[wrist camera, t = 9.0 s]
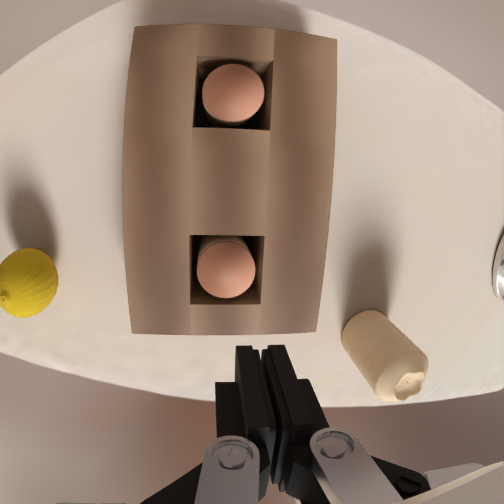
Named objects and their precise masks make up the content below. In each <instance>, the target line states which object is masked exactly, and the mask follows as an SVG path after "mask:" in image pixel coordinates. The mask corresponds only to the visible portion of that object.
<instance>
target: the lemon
mask: <svg viewBox="0 0 504 504" xmlns="http://www.w3.org/2000/svg"><path fill="white" fill-rule="evenodd" d="M57 287H58V274H57V269H56V267H55V264H54V263H53V261H52V260H51V258H50V257H49V256H48V255H47V254H46V253H44V252H42V251H41V250H38V249H35V248H23V249H20V250H17V251H15V252H13V253H12V254H10V255H9V256H8V257H7V258H6V259H5V260H4V261H3V262H2V263H1V265H0V306H1V307H2V308H3V309H4V310H5V311H6V312H7V313H9V314H11V315H13V316H15V317H20V318H23V317H30V316H33V315H35V314H37V313H39V312H41V311H42V310H44V309H45V308H46V307H47V306H48V305H49V304H50V302H51V301H52V299H53V297H54V296H55V294H56V291H57Z"/></svg>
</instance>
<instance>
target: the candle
mask: <svg viewBox="0 0 504 504" xmlns="http://www.w3.org/2000/svg"><path fill="white" fill-rule="evenodd" d="M342 344H343V347H344V349H345V351H346V352H347V354H348V355H349V356H350V358H351V359H352V361H353V362H354V364H355V365H356V366H357V368H358V369H359V371H360V372H361V374H362V375H363V376H364V378H365V379H366V381H367V382H368V384H369V385H370V387H371V388H372V389H373V391H374V392H375V394H376V395H377V397H378V398H379V399H380V400H382V401H386V402H392V401H400V400H406V399H407V398H408V397H409V396H412V395H416V394H418V393H419V392H420V390H421V386H422V383H423V381H424V379H425V377H426V374H427V370H428V358H427V356H426V355H425V354H424V353H423V352H422V351H421V350H420V349H419V348H418V347H417V346H416V345H415V344H414V343H413V342H412V341H411V340H410V339H409V338H408V337H407V336H405V335H404V334H403V333H402V332H401V331H400V330H399V329H398V328H397V327H396V326H395V325H394V324H393V323H392V322H391V321H390V320H389V319H387V318H386V317H385V316H384V315H383V314H382V313H380V312H378V311H375V310H366V311H362V312H360V313H358V314H356V315H355V316H354V317H352V318H351V319H350V320H349V321H348V323H347V324H346V325H345V327H344V329H343V332H342Z"/></svg>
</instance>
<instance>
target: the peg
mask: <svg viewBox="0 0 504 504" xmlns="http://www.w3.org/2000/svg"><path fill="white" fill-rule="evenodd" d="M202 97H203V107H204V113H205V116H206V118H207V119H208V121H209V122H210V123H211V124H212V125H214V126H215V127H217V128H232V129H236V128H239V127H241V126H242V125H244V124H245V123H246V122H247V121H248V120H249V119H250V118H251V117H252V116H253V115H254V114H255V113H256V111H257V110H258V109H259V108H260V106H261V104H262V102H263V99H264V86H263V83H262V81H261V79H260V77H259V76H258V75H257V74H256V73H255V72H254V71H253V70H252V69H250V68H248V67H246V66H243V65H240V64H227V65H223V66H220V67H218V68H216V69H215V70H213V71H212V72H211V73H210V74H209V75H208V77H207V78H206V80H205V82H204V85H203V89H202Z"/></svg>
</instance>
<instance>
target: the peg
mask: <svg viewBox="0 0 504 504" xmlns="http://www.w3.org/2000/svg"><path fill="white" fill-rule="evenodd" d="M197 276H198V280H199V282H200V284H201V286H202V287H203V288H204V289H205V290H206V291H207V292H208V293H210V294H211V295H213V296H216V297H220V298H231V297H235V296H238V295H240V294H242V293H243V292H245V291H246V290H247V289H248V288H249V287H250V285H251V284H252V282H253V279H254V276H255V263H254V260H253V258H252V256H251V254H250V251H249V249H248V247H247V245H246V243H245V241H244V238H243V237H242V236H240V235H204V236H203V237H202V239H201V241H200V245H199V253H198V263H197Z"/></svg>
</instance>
